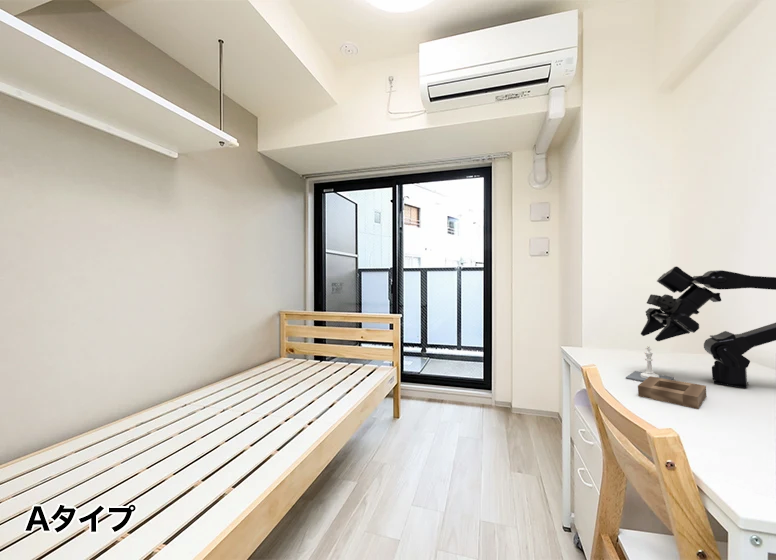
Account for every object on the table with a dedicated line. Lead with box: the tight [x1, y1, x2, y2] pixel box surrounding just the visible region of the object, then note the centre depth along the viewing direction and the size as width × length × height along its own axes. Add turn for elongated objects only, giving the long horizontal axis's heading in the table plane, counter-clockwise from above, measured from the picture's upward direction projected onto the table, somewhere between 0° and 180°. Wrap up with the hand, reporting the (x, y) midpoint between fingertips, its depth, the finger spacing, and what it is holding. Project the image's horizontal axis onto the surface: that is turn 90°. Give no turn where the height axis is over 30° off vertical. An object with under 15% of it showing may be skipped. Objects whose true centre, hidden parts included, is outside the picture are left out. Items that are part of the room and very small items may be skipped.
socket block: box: [637, 376, 707, 410], centre depth 85 cm, size 12×12×3 cm
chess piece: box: [640, 345, 660, 379], centre depth 100 cm, size 5×5×10 cm
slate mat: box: [625, 370, 675, 383], centre depth 100 cm, size 10×10×1 cm
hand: (648, 337), depth 100 cm, fingers open, 9 cm apart
